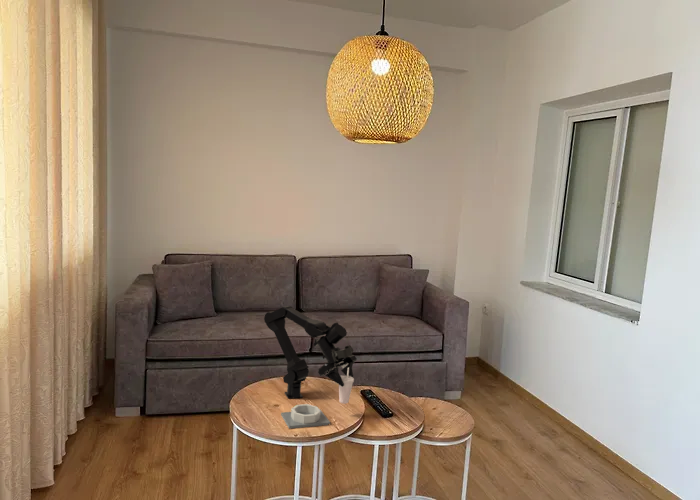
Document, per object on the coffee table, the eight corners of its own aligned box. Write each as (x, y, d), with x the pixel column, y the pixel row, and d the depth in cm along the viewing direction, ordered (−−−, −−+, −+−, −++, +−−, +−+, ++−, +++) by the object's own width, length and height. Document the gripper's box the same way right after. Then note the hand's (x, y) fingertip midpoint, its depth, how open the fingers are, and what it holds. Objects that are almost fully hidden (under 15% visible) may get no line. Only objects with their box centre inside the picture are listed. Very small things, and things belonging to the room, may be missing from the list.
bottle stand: (281, 415, 200) (281, 405, 200) (320, 411, 206) (320, 402, 206) (289, 428, 189) (289, 418, 188) (330, 424, 195) (330, 414, 195)
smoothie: (350, 406, 200) (353, 371, 199) (334, 403, 201) (337, 368, 200) (353, 400, 206) (356, 366, 205) (337, 397, 208) (340, 363, 206)
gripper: (326, 343, 196) (346, 379, 191) (355, 335, 211) (375, 368, 206) (309, 358, 202) (328, 393, 196) (338, 349, 217) (357, 382, 211)
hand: (348, 384), depth 202 cm, fingers closed on smoothie, 6 cm apart
